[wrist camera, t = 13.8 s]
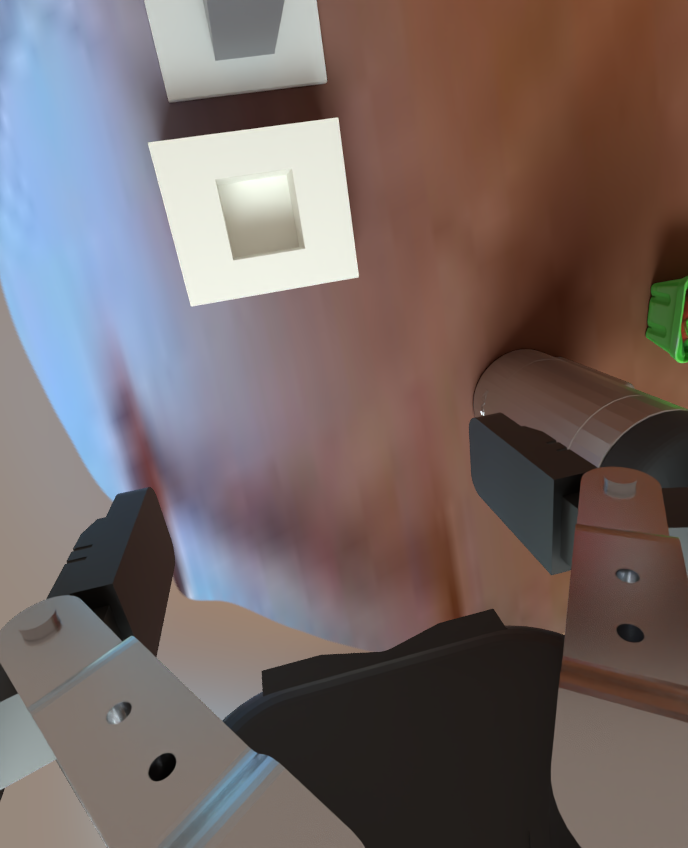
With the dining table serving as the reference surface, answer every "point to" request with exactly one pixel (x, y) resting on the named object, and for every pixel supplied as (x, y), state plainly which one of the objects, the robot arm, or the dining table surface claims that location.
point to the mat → (204, 77)
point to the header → (257, 209)
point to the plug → (243, 27)
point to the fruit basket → (670, 317)
